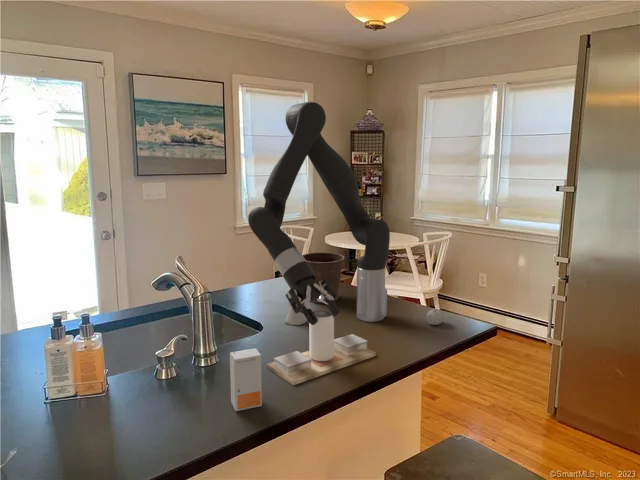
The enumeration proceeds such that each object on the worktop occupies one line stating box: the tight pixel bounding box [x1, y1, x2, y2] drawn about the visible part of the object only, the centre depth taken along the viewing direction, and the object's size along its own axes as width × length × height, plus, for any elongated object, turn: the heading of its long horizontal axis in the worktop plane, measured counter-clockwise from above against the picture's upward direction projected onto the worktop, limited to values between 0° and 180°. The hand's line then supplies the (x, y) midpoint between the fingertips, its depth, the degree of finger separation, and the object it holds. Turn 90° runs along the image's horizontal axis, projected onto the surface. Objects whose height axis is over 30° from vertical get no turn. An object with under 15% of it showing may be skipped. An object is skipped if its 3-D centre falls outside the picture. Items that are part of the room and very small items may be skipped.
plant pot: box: [302, 251, 345, 304], centre depth 178 cm, size 16×16×16 cm
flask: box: [283, 296, 308, 326], centre depth 155 cm, size 7×7×10 cm
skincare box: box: [229, 347, 263, 412], centre depth 104 cm, size 6×4×12 cm
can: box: [308, 309, 335, 362], centre depth 125 cm, size 6×6×12 cm
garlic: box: [425, 308, 444, 326], centre depth 153 cm, size 6×5×5 cm
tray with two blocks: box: [266, 333, 377, 386], centre depth 126 cm, size 27×12×4 cm, turn 128°
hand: (326, 318), depth 123 cm, fingers open, 8 cm apart
